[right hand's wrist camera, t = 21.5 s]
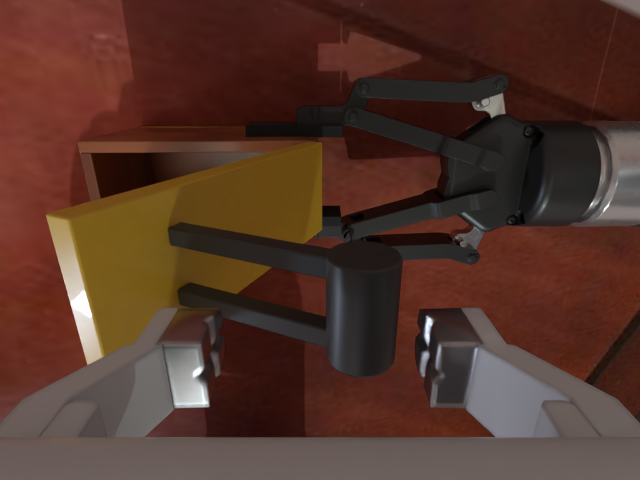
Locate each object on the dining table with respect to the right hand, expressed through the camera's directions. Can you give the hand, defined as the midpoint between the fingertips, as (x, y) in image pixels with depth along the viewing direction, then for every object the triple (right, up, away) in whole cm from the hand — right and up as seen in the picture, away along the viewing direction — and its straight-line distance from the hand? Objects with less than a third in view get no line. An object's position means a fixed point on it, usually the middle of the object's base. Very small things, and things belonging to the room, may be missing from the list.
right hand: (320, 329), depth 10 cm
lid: (-4, +3, +8) cm, 10 cm away
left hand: (-5, +7, +18) cm, 20 cm away
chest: (-8, +9, +24) cm, 27 cm away
